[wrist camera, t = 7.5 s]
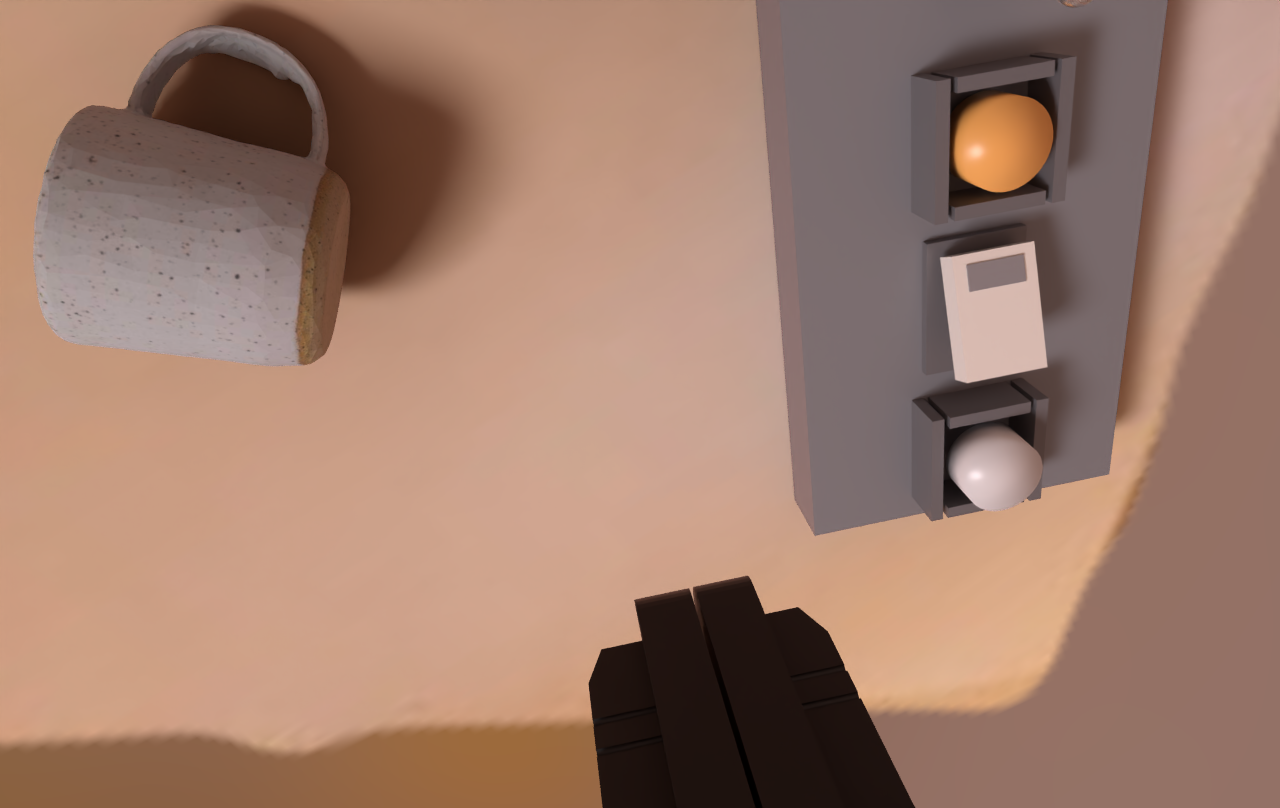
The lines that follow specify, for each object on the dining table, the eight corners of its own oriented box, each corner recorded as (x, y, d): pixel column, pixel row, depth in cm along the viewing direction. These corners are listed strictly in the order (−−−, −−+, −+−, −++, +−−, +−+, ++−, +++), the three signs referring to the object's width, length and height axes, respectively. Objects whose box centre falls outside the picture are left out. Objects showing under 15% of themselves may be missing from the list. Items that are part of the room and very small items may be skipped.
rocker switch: (940, 257, 32) (952, 257, 31) (1020, 242, 33) (1035, 240, 32) (955, 379, 33) (968, 383, 32) (1033, 364, 33) (1048, 367, 32)
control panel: (743, -161, 29) (786, -188, 24) (1135, -224, 29) (1247, -262, 25) (794, 499, 41) (829, 562, 37) (1070, 443, 42) (1137, 497, 37)
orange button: (940, 98, 30) (965, 104, 28) (1027, 82, 30) (1056, 88, 28) (939, 188, 31) (962, 199, 30) (1022, 173, 31) (1049, 183, 30)
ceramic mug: (347, 333, 34) (308, 415, 27) (125, 297, 33) (23, 376, 26) (375, 57, 30) (337, 72, 23) (122, -2, 28) (0, -3, 22)
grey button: (946, 430, 35) (968, 451, 33) (1020, 415, 35) (1045, 435, 34) (945, 494, 36) (965, 518, 35) (1016, 479, 37) (1039, 502, 35)
